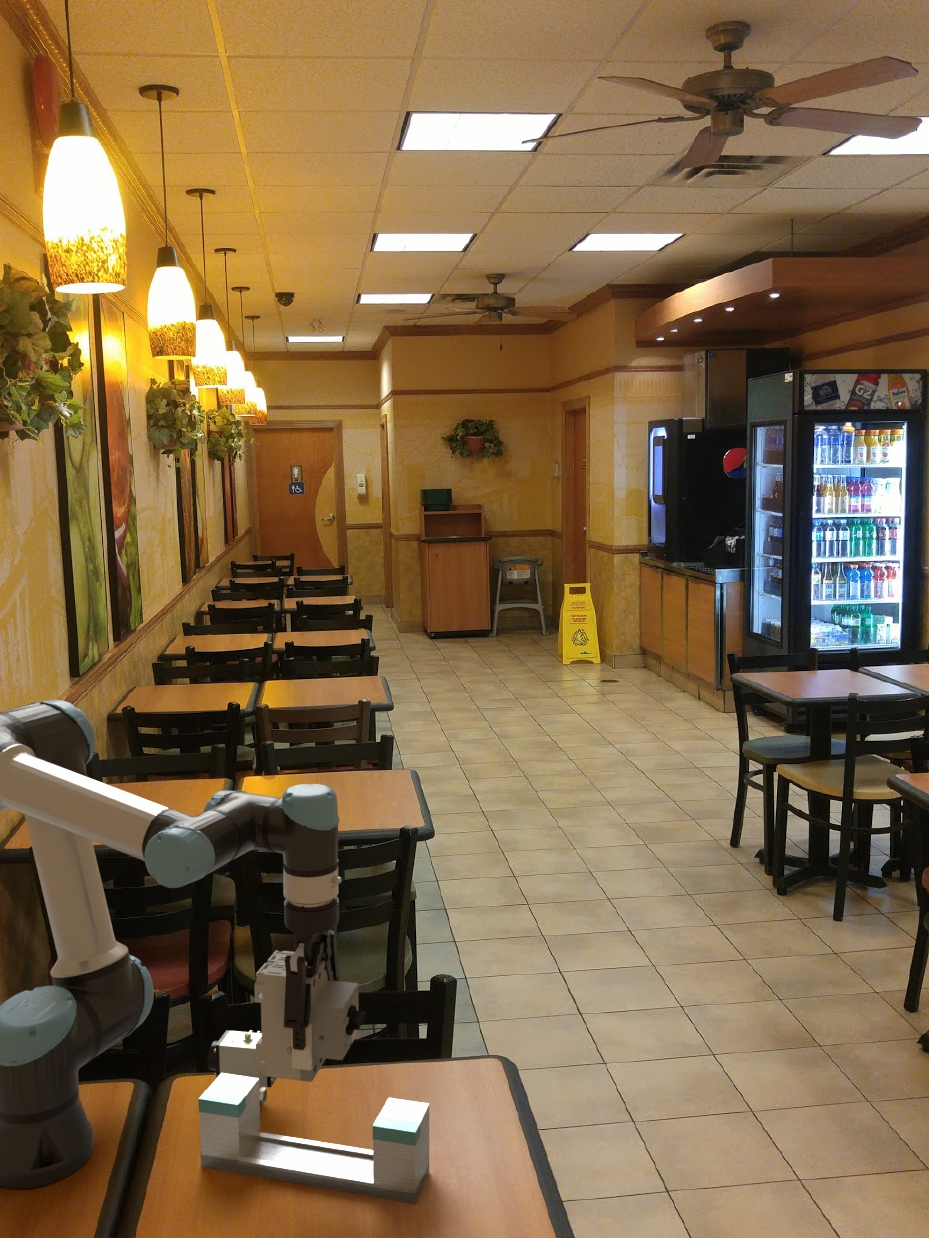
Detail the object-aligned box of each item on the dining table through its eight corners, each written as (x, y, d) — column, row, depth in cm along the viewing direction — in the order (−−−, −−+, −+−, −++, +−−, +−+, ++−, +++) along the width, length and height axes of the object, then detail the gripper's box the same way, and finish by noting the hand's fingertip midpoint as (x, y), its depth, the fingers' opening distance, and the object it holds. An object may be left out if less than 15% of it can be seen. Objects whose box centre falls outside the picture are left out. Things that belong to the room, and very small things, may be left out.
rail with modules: (200, 1167, 155) (198, 1098, 154) (222, 1138, 162) (221, 1072, 161) (415, 1204, 148) (415, 1132, 146) (429, 1172, 155) (429, 1102, 153)
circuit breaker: (354, 1087, 148) (353, 983, 146) (256, 1075, 151) (254, 973, 149) (370, 1058, 155) (369, 959, 153) (275, 1047, 158) (274, 949, 156)
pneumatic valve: (280, 1116, 168) (278, 1044, 166) (208, 1109, 170) (206, 1037, 168) (291, 1096, 173) (290, 1026, 172) (221, 1089, 175) (219, 1019, 173)
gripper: (309, 930, 139) (311, 1096, 142) (361, 873, 159) (362, 1020, 162) (255, 924, 141) (258, 1088, 144) (313, 868, 161) (315, 1014, 164)
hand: (313, 1052), depth 153 cm, fingers closed on circuit breaker, 8 cm apart
